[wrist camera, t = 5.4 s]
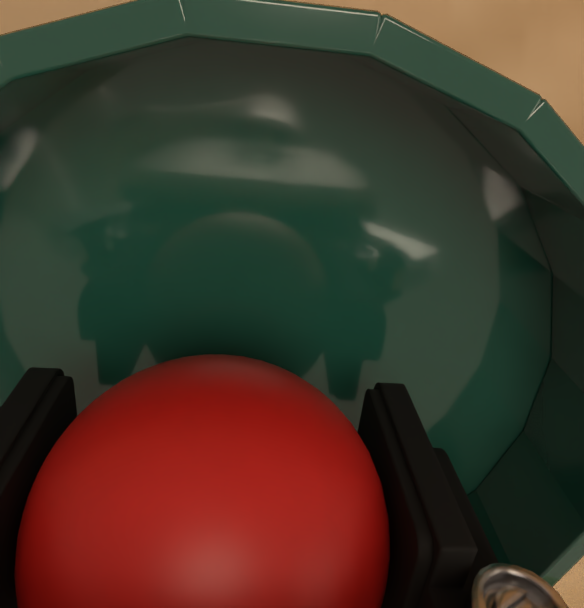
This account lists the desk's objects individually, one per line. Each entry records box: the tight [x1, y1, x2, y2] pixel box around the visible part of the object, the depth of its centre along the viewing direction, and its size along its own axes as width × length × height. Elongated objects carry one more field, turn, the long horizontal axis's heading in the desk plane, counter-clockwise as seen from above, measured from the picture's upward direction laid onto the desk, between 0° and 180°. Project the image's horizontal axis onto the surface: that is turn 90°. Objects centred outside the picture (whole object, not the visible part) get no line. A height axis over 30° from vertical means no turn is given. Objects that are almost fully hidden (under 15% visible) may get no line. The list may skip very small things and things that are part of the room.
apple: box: [14, 354, 390, 608], centre depth 8 cm, size 6×6×6 cm
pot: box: [0, 0, 584, 587], centre depth 11 cm, size 15×15×4 cm
